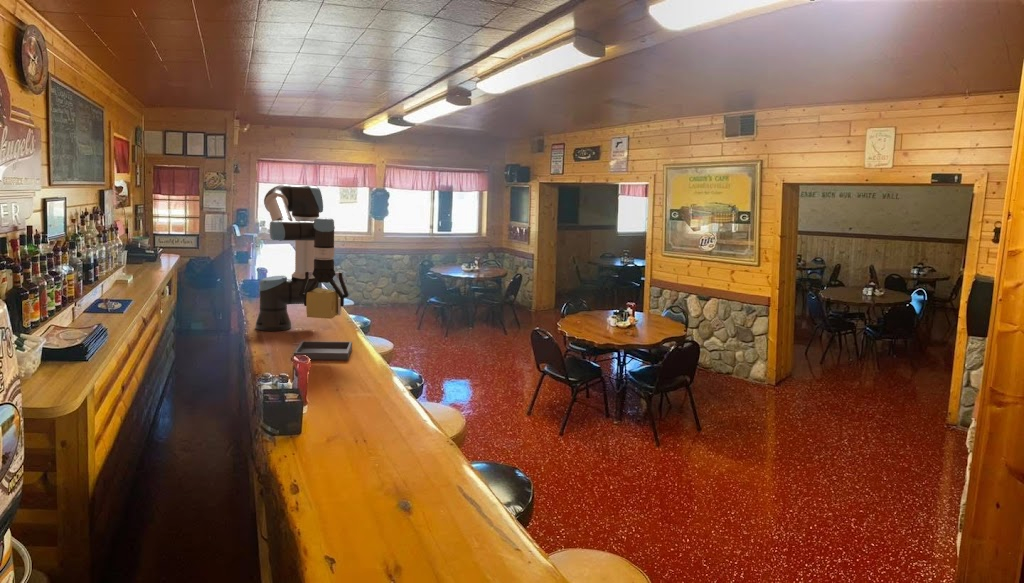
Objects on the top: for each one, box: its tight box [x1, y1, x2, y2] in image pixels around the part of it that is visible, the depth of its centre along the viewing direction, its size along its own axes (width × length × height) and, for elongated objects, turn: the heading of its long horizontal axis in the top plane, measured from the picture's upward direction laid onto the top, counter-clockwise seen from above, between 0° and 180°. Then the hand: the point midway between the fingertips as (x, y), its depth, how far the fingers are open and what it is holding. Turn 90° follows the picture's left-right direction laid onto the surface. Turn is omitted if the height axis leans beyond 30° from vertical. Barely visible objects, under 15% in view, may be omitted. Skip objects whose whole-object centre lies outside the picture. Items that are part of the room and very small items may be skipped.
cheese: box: [305, 287, 340, 320], centre depth 250 cm, size 10×11×10 cm
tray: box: [292, 340, 353, 362], centre depth 254 cm, size 18×20×3 cm
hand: (324, 314), depth 251 cm, fingers closed on cheese, 11 cm apart
